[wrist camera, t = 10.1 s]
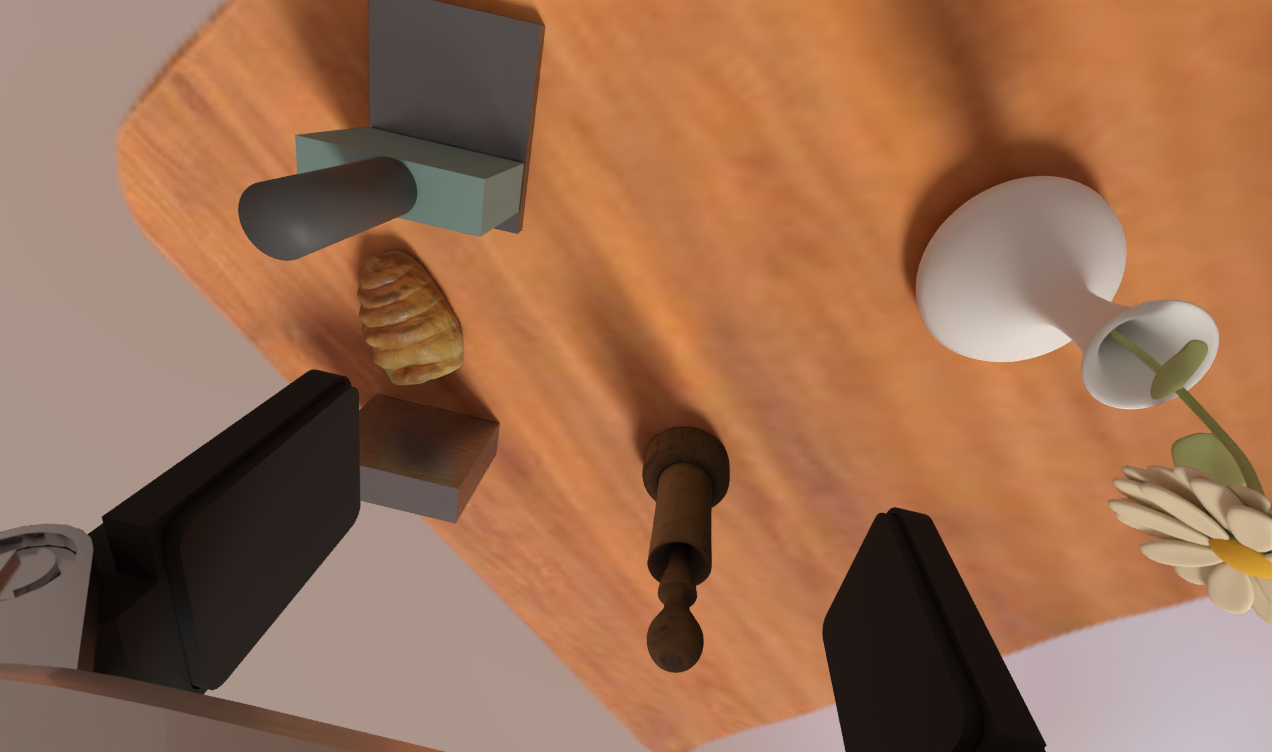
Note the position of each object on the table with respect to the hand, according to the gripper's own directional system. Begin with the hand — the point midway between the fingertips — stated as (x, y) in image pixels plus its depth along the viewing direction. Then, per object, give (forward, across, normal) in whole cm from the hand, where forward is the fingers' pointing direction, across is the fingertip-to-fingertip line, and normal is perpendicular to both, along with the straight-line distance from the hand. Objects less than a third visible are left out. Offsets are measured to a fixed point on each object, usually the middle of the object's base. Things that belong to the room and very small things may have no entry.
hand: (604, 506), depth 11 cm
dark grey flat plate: (+30, +15, -2) cm, 34 cm away
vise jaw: (+29, +15, +1) cm, 33 cm away
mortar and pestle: (+31, -5, +19) cm, 36 cm away
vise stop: (+30, +15, +21) cm, 40 cm away
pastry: (+31, +17, +12) cm, 37 cm away
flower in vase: (+31, -21, 0) cm, 37 cm away
